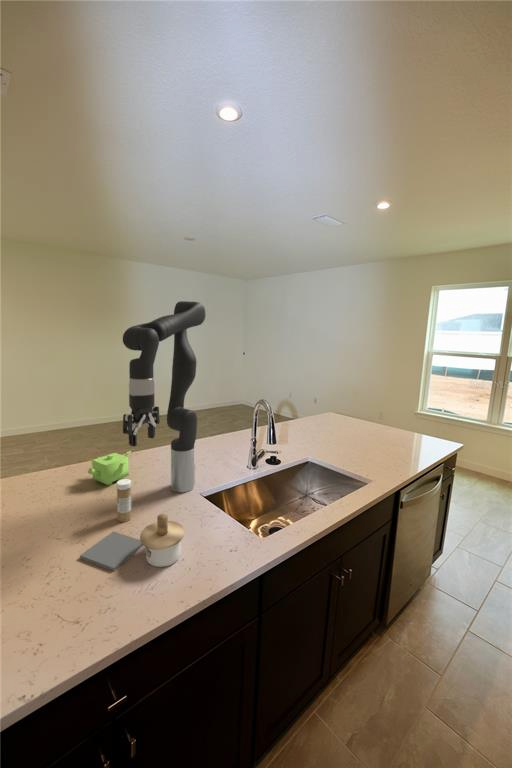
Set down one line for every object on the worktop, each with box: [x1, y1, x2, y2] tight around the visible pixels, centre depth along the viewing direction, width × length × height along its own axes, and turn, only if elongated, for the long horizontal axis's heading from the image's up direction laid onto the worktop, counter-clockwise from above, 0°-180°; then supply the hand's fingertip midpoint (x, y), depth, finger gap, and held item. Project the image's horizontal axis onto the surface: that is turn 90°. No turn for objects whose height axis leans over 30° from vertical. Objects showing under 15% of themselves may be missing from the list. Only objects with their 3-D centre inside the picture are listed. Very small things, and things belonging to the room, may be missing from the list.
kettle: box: [87, 450, 132, 486], centre depth 134 cm, size 15×14×11 cm
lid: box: [139, 513, 185, 549], centre depth 90 cm, size 12×12×6 cm
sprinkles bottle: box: [115, 478, 132, 523], centre depth 107 cm, size 5×5×13 cm
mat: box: [79, 530, 143, 572], centre depth 92 cm, size 12×12×1 cm
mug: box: [145, 541, 182, 568], centre depth 91 cm, size 12×10×6 cm
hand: (142, 441), depth 102 cm, fingers open, 8 cm apart
